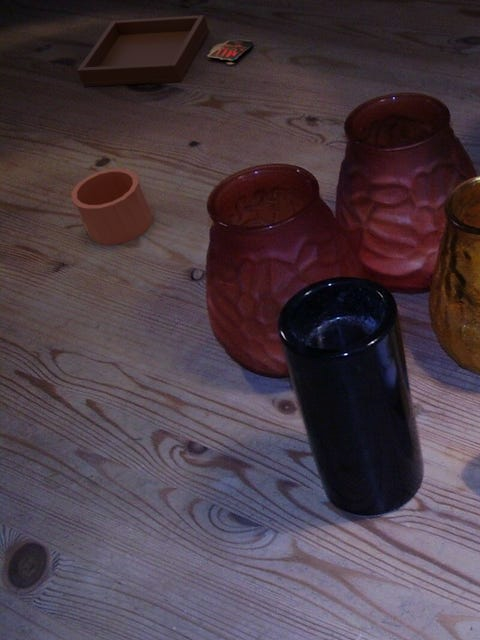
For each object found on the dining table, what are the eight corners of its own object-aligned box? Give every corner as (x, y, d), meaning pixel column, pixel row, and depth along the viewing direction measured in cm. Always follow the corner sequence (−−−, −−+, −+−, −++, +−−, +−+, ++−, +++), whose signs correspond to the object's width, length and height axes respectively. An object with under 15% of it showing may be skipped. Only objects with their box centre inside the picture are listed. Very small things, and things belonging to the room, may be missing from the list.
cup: (81, 250, 89) (61, 209, 85) (104, 209, 93) (85, 169, 89) (143, 248, 88) (125, 207, 85) (163, 207, 92) (146, 167, 89)
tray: (83, 86, 110) (76, 70, 108) (118, 36, 117) (112, 20, 116) (181, 82, 108) (175, 65, 107) (209, 31, 116) (204, 15, 114)
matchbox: (256, 41, 112) (255, 37, 112) (240, 65, 109) (239, 61, 109) (218, 41, 113) (216, 37, 113) (201, 65, 110) (199, 61, 110)
